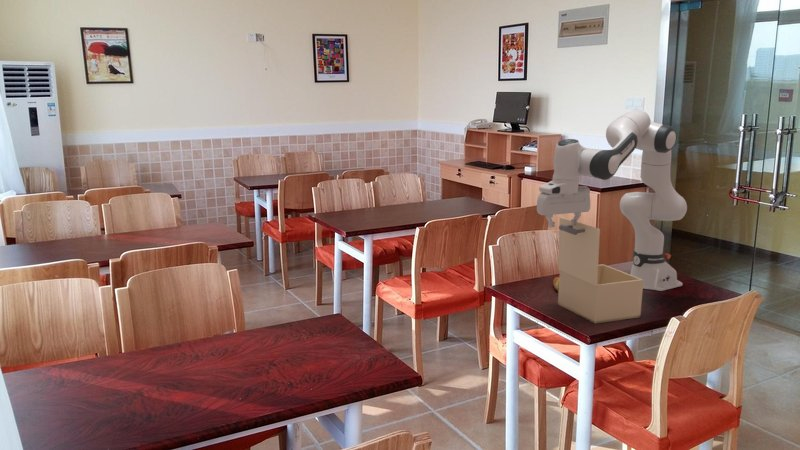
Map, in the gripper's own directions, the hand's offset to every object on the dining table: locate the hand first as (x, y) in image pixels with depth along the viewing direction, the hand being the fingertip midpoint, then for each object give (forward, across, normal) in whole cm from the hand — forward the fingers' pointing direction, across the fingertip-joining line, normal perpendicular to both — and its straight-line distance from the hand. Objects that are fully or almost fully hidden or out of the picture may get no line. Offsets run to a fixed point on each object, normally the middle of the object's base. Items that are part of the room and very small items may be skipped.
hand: (562, 225), depth 229 cm
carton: (+34, -18, 0) cm, 38 cm away
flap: (+9, -8, 0) cm, 12 cm away
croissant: (+34, -21, -24) cm, 46 cm away
